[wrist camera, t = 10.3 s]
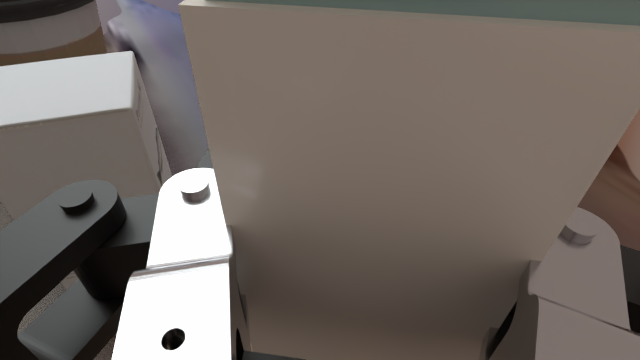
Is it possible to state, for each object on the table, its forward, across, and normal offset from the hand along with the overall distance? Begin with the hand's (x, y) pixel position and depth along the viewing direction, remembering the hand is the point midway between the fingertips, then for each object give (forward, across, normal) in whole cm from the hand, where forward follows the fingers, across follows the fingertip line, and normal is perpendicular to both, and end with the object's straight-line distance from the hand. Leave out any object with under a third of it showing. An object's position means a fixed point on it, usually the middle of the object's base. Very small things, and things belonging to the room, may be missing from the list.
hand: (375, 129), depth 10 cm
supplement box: (+7, +16, +16) cm, 24 cm away
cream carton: (-3, 0, +6) cm, 7 cm away
